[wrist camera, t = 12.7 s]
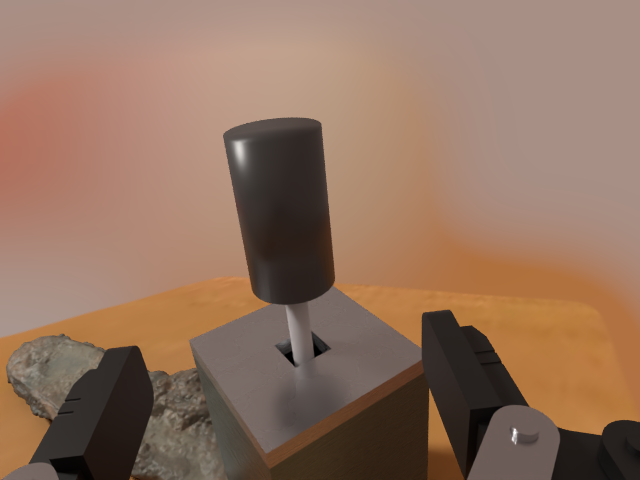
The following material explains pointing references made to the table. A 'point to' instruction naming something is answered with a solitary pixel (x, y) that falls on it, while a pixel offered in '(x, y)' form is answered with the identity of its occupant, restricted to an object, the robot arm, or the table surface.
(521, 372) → the table surface
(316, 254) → the lever
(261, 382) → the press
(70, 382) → the long grey stone
